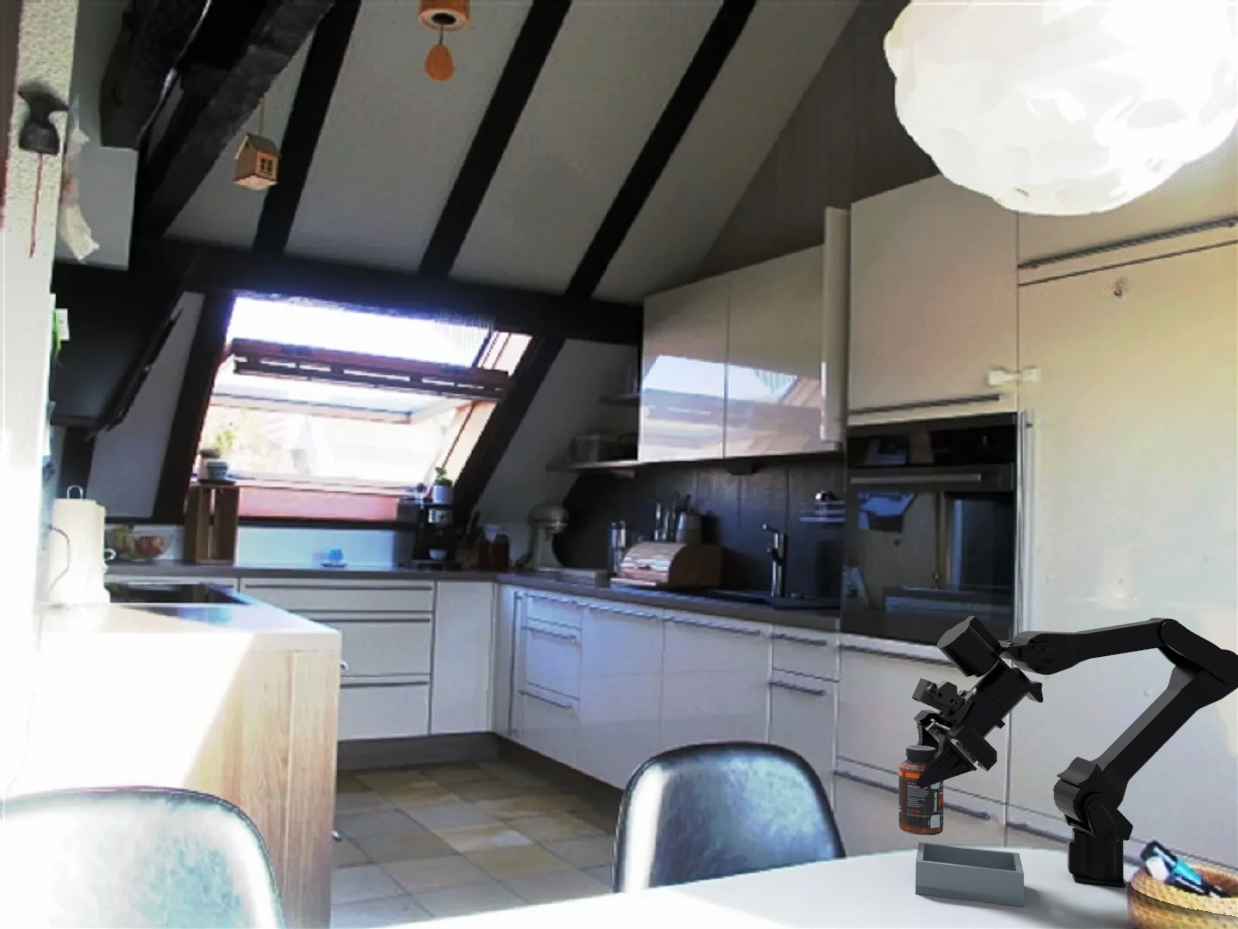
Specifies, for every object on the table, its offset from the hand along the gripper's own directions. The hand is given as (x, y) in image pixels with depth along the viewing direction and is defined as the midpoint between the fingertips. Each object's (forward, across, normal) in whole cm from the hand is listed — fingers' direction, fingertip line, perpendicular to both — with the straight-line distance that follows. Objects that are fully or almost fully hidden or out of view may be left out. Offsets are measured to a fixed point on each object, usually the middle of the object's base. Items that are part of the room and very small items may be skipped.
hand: (911, 781), depth 150 cm
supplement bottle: (+4, 0, +6) cm, 7 cm away
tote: (+5, +6, +13) cm, 15 cm away
